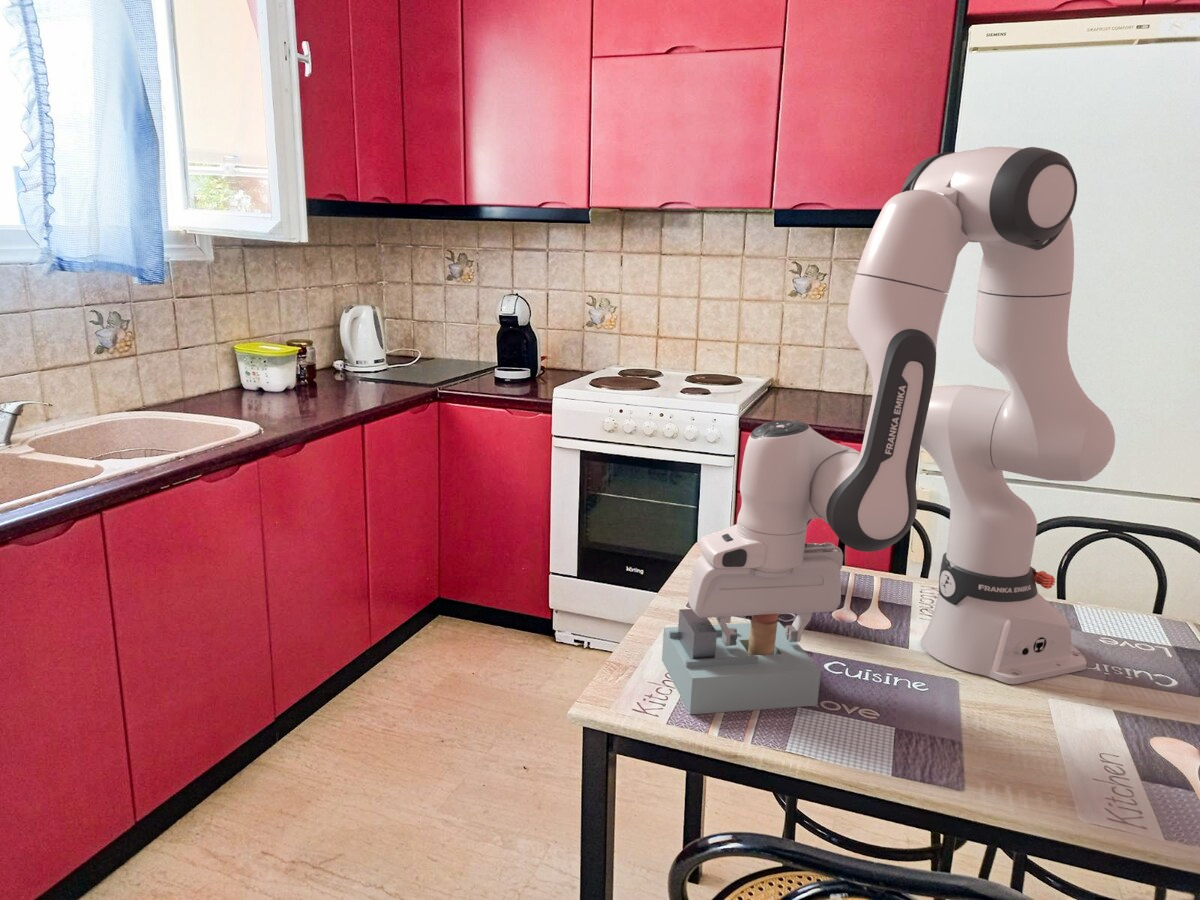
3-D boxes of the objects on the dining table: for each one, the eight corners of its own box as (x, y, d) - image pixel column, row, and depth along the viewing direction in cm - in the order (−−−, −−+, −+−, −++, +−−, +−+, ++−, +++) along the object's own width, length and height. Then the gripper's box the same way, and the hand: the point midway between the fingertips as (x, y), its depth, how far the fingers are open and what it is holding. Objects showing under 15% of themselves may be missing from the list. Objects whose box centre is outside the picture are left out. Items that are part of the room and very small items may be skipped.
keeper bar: (698, 635, 115) (700, 608, 114) (714, 660, 108) (717, 632, 107) (677, 636, 115) (679, 609, 114) (692, 661, 108) (694, 633, 107)
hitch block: (775, 653, 122) (779, 616, 121) (817, 705, 109) (821, 664, 107) (661, 660, 119) (664, 622, 118) (689, 714, 106) (692, 672, 104)
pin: (765, 669, 116) (773, 604, 113) (774, 683, 113) (782, 617, 110) (741, 671, 115) (748, 605, 112) (750, 685, 112) (757, 618, 109)
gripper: (833, 534, 115) (823, 627, 118) (688, 538, 111) (681, 635, 114) (855, 550, 109) (844, 649, 112) (702, 556, 105) (695, 657, 108)
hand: (760, 642), depth 113 cm, fingers open, 8 cm apart
